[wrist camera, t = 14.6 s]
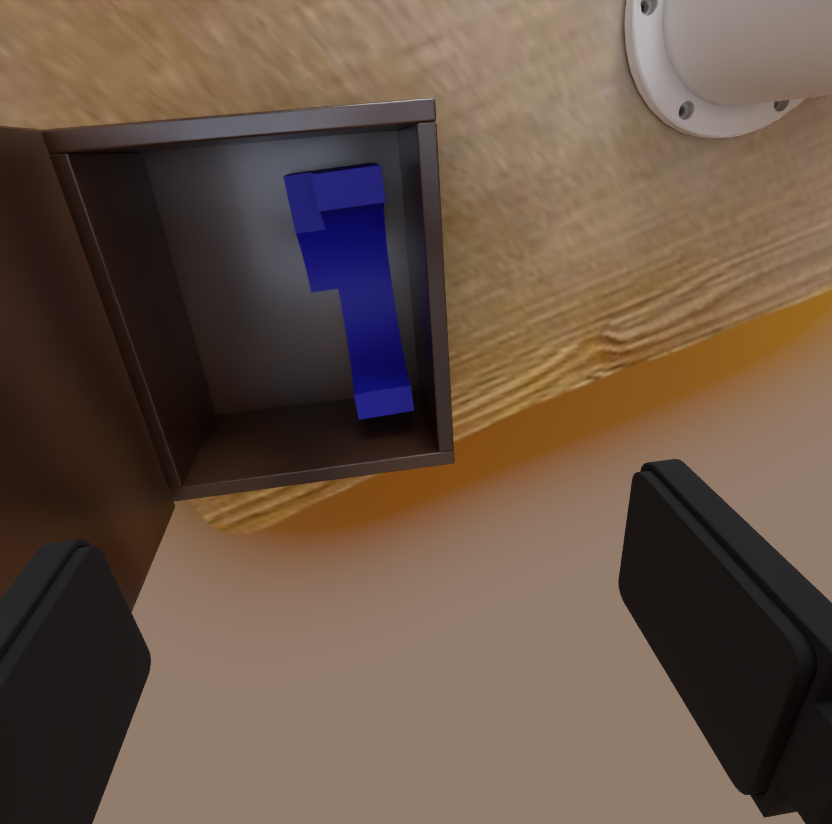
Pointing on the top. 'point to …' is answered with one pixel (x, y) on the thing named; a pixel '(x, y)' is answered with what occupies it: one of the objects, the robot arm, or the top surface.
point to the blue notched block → (354, 275)
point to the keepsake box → (258, 290)
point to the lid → (65, 391)
